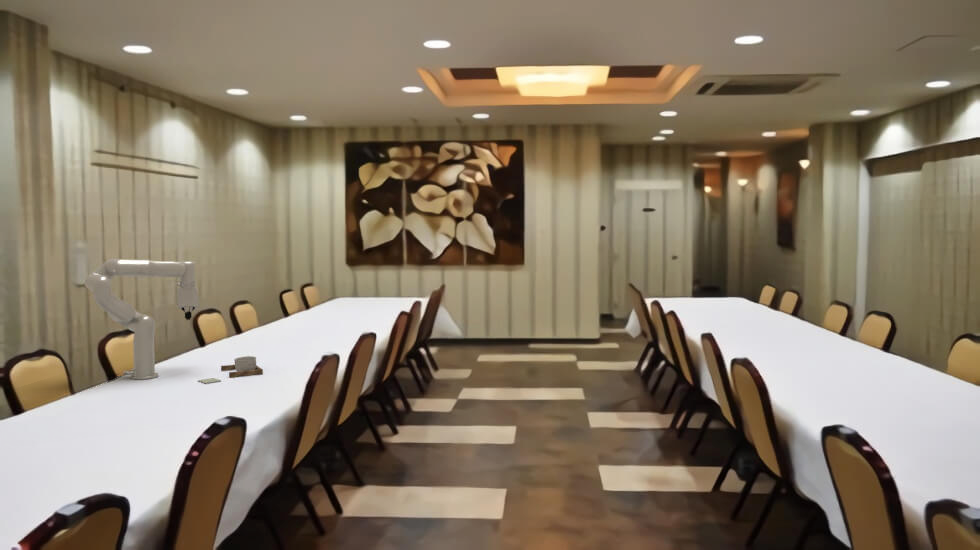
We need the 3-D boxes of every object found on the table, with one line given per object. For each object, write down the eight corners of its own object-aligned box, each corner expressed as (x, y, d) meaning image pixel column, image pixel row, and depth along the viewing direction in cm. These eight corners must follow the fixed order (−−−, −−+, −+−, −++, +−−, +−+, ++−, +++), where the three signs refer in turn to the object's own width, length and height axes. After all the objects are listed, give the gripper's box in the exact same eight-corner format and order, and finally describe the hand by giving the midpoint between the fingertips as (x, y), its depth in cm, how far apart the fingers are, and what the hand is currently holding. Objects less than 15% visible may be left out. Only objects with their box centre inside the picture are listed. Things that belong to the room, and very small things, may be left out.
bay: (229, 377, 358) (229, 372, 358) (221, 370, 375) (221, 365, 374) (262, 374, 367) (262, 369, 366) (252, 367, 383) (252, 362, 383)
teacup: (251, 375, 364) (251, 360, 363) (230, 374, 365) (230, 359, 364) (261, 369, 378) (261, 355, 377) (242, 369, 379) (242, 354, 378)
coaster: (205, 385, 343) (205, 382, 343) (197, 382, 348) (197, 380, 348) (221, 382, 349) (221, 380, 349) (213, 380, 354) (213, 377, 354)
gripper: (173, 286, 363) (173, 321, 364) (204, 285, 371) (204, 319, 372) (170, 284, 369) (171, 319, 371) (201, 283, 377) (201, 318, 379)
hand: (188, 319), depth 371 cm, fingers closed
